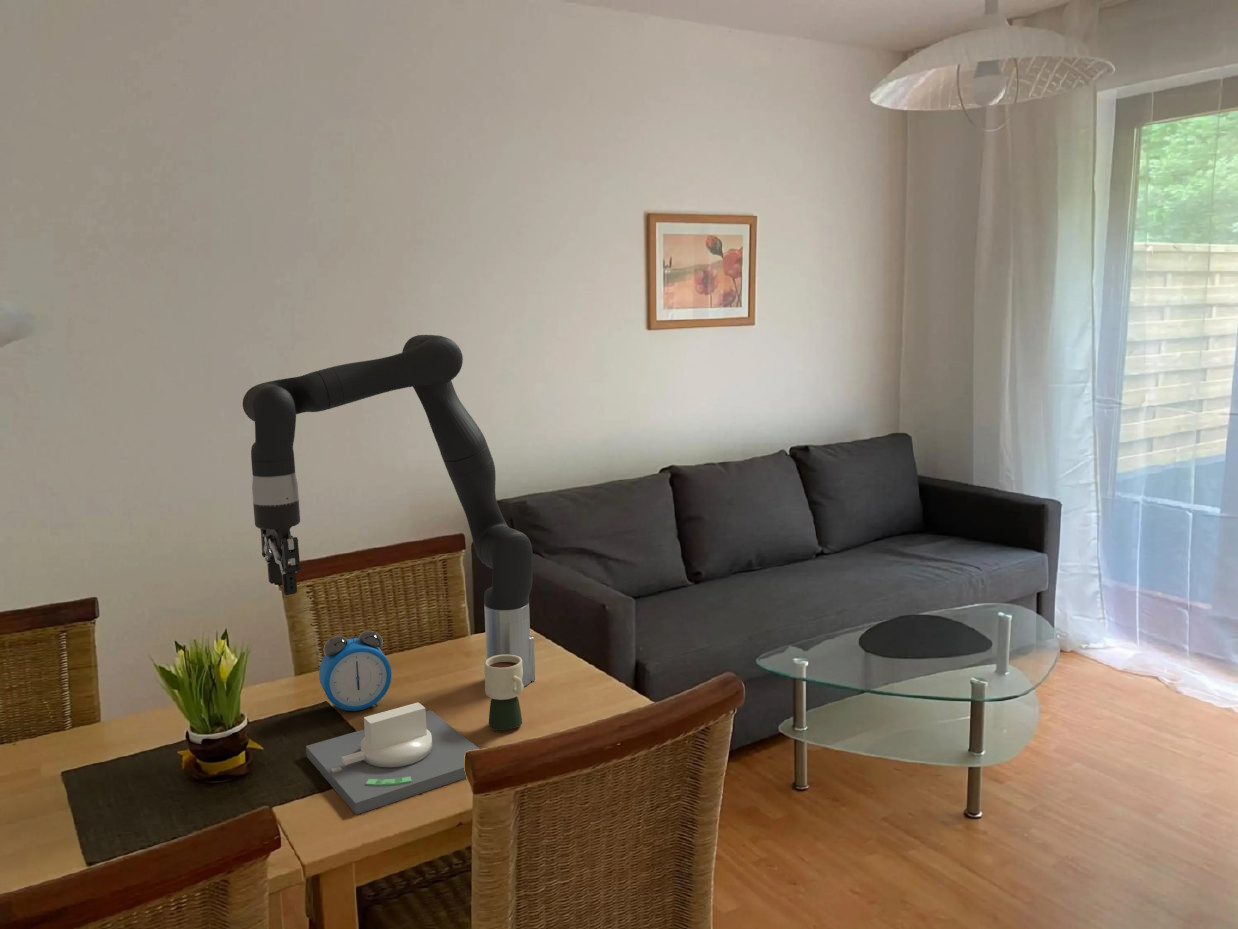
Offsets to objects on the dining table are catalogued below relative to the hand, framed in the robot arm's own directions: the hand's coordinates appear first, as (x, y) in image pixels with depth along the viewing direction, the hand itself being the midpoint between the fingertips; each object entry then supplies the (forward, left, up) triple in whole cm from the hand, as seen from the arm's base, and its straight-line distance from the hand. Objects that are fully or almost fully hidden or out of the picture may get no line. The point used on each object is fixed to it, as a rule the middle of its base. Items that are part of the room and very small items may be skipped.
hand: (282, 588), depth 167 cm
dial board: (-12, +19, -29) cm, 37 cm away
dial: (-10, +19, -27) cm, 35 cm away
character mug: (-34, +18, -30) cm, 48 cm away
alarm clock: (-15, -8, -30) cm, 34 cm away
